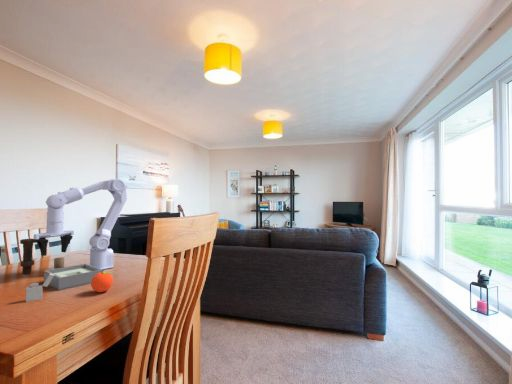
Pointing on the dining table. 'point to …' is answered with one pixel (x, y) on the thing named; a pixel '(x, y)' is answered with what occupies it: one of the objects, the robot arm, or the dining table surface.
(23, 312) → the dining table surface
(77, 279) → the bore box
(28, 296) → the lighter
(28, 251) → the bolt
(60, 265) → the peg
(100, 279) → the clementine
